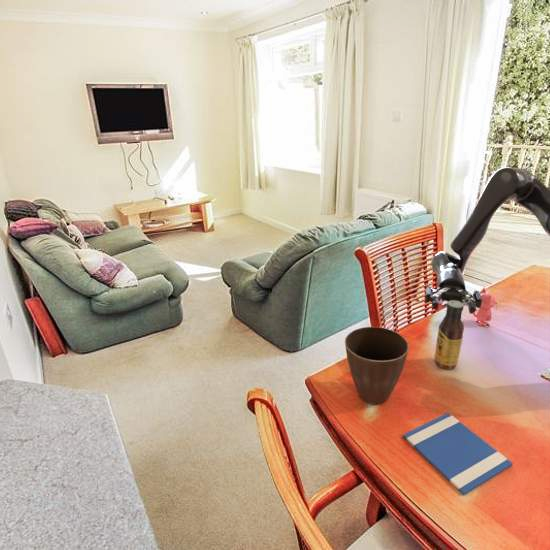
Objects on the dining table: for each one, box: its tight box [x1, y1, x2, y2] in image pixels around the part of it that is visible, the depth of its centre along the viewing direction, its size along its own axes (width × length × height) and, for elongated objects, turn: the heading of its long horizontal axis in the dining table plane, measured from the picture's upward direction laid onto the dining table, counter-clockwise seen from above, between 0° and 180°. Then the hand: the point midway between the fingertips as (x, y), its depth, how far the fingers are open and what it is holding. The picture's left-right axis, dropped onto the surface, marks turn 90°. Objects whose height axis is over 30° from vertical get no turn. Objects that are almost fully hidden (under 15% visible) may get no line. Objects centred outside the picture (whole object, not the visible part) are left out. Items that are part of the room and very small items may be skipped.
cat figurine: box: [472, 287, 498, 328], centre depth 123 cm, size 7×7×12 cm
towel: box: [402, 412, 513, 496], centre depth 80 cm, size 14×16×1 cm
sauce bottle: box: [433, 300, 465, 370], centre depth 103 cm, size 6×6×20 cm
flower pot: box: [344, 326, 410, 405], centre depth 94 cm, size 15×15×16 cm
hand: (454, 308), depth 100 cm, fingers open, 8 cm apart
